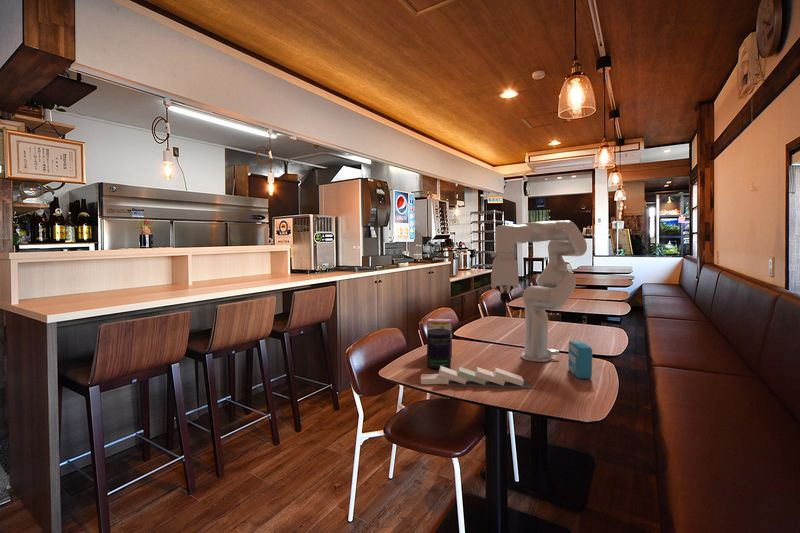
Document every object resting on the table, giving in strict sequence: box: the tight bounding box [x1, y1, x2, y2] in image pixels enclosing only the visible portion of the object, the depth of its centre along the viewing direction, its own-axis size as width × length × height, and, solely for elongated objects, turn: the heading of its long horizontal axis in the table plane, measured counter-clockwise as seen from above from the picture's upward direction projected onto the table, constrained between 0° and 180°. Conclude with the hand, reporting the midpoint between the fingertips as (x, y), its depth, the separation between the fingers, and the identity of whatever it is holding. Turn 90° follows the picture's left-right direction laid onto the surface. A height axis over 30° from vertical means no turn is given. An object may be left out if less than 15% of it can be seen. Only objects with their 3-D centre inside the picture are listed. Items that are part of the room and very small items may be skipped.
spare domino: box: [457, 366, 486, 385], centre depth 148 cm, size 2×5×10 cm
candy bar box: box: [426, 318, 453, 358], centre depth 181 cm, size 11×5×16 cm, turn 84°
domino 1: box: [420, 373, 449, 385], centre depth 149 cm, size 2×5×10 cm
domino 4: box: [492, 367, 525, 386], centre depth 146 cm, size 2×5×10 cm
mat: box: [446, 379, 533, 390], centre depth 147 cm, size 30×7×1 cm, turn 84°
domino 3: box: [474, 366, 505, 386], centre depth 147 cm, size 2×5×10 cm
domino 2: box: [438, 366, 467, 384], centre depth 148 cm, size 2×5×10 cm
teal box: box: [567, 340, 593, 380], centre depth 156 cm, size 12×4×12 cm, turn 176°
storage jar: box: [426, 329, 452, 372], centre depth 166 cm, size 10×10×15 cm
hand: (504, 302), depth 161 cm, fingers closed
